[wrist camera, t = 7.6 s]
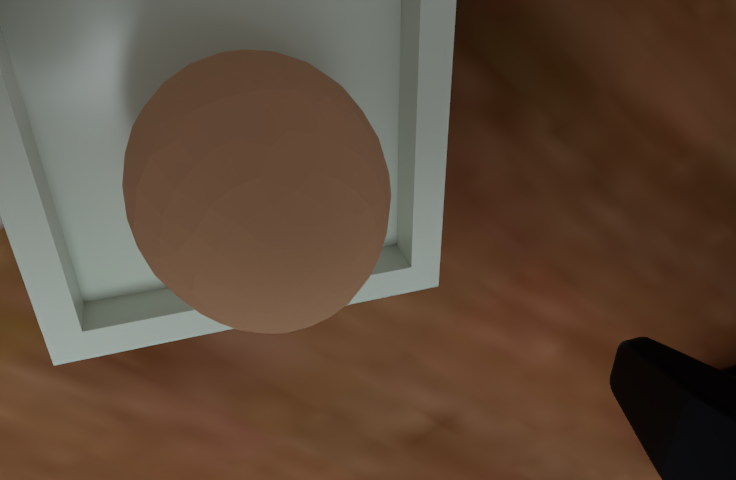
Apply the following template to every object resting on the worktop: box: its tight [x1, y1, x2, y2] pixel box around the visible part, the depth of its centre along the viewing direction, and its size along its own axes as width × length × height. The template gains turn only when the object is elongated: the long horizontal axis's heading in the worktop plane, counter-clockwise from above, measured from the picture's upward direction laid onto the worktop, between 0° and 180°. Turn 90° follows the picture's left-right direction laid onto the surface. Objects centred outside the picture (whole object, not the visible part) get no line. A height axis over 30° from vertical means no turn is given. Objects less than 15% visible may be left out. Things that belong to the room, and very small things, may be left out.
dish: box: [0, 0, 456, 366], centre depth 18 cm, size 12×12×2 cm
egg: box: [122, 49, 391, 333], centre depth 15 cm, size 6×6×8 cm
